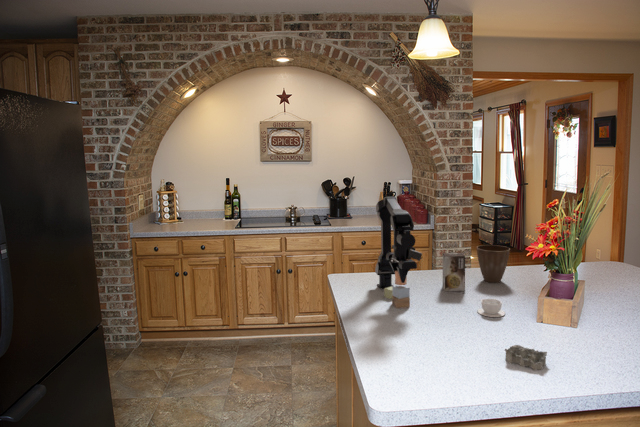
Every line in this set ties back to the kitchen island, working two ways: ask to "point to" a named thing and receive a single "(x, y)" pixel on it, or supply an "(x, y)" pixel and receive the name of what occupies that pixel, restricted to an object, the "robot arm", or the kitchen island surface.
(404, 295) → the tower mid
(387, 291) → the olive block
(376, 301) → the kitchen island surface
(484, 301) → the teacup
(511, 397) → the kitchen island surface
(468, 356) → the kitchen island surface
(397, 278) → the terracotta cylinder
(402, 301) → the tower base
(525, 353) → the egg carton
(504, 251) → the plant pot
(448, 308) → the kitchen island surface
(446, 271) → the coffee box
